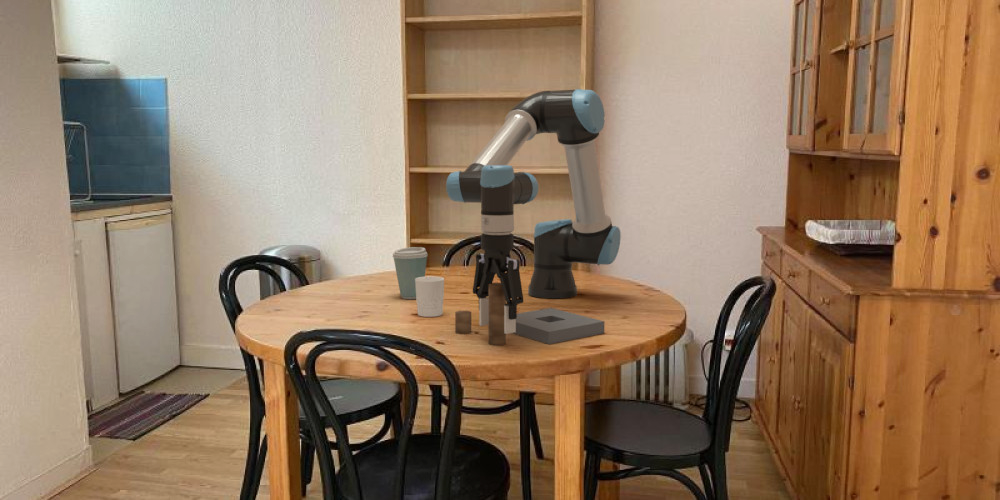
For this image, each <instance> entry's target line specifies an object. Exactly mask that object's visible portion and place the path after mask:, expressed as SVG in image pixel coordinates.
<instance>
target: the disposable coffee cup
mask: <svg viewBox="0 0 1000 500" xmlns="http://www.w3.org/2000/svg"><path fill="white" fill-rule="evenodd" d="M428 256H429V255H428V252H427V249H426V248H425V247H421V246H419V247H418V246H416V247H415V246H412V247H404V248H400V249H396V250H394V252H393V253H392V258H393V261H394V266H395V271H396V277H397V278H396V279H397V283H398V288H399V294H400V296H401V299H403V300H417V299H416V285H415V279H416V278H418V277H425V276H426V269H427V259H428Z"/></svg>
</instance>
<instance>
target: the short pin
mask: <svg viewBox="0 0 1000 500" xmlns="http://www.w3.org/2000/svg"><path fill="white" fill-rule="evenodd" d="M454 313H455V314H454V315H455V317H454V318H455V319H454V322H455V324H454V325H455V326H454V327H455V328H454V331H455V333H456V334H459V335H469V334H471V333H472V311H470V310H457V311H455V312H454Z"/></svg>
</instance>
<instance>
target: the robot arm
mask: <svg viewBox="0 0 1000 500" xmlns="http://www.w3.org/2000/svg"><path fill="white" fill-rule="evenodd" d="M605 115H606V114H605V108H604V105H603V102H602V99H601V97H600V96H599V94H598V93H597V92H595V91H594V90H592V89H582V88H577V89H560V90H542V91H538V92H535V93H532V94H531V95H529V96H527V97H525V98H524V99H522V100H520V101H519V102H518V103H517V104H516V105H514V107H512V109H510V111H509V112H508V113H507V114H506V115H505V118H504V123H503V125H502V126H501V127H500V128H499V129H498V131H497V132H496V133H495V134H494V136H492V138H491V139H490V140H489V141H488V142H487V144H486V145H484V147H483V149H482V150H481V151H480V152H479V153H478V154H477V156H476V157H475V158H474V159H473V160H472V162H471V163H470V164H469V165H468V167H466V169H465V170H464V171H461V170H459V171H453V172H450V174H449V175H448V176H447V179H446V184H445V186H446V187H445V189H446V193H447V196H448V198H449V199H450V200H451V201H453V202H459V203H460V202H461V203H463V204H466V203H476V204H479V203H480V214H481V215H480V221H481V222H480V230H481V232H482V233H481V234H480V248H481V250H482V251H484V253H477V254H476V255H475V261H476V262H475V263H476V265H475V271H474V276H473V277H474V279H473V285H472V293H473V294H474V295H476V297H477V298H478V310H479V313H478V314H479V317H478V319H479V320H478V321H479V323H478V325H479V327H483V326H484V327H485V326H489V284H490V283H494V282H493V281H494V278H495V276H496V277H497V278H498V279H499V283H501V285H502V289H503V292H504V296H505V299H506V304H504V333H505V334H506V335H508V334H514V332H516V318H517V311H518V309H517V308H518V307H517V306H518V305H520V304H523V303H524V296H523V295H524V294H523V289H522V281H521V280H522V279H521V273H520V265H521V264H520V263H521V261H520V259H517V258H516V259H513V258H512V257H511V251H513V249H514V248H515V247H514V234H513V232H514V231H515V230H514V229H515V226H514V225H515V217H514V216H515V215H514V206H515V205H525V204H527V203H530V202H532V201H533V200H535V198H536V197H537V196H538V193H539V183H538V180H537V179H536V177H535V176H534V175H533V174H531V173H530V172H526V171H525V172H524V171H518V172H515V170H514V168H513V166H512V165H509V163H510V162H511V161H512V160H513V158H514V157H515V156H516V154H517V153H518V152H519V150H520V149H521V148H522V147H523V146H524V145H525V143H526V142H528V141H530V140H532V139H533V138H534V137H536V135H540V134H556V137H557V143H559V144H560V145H561V146H563V147H564V152H565V158H566V159H565V160H566V164H567V171H568V176H569V183H570V187H571V195H572V200H573V207H574V213H575V219H574V221H573V220H572V219H569V218H568V219H567V218H565V219H557V220H556V219H555V220H547V221H541V222H537V223H536V224H535V226H534V232H533V234H534V235H533V271H532V275H531V278H530V282H529V285H528V289H527V291H528V293H527V294H528V295H529V296H531V297H535V298H541V299H567V298H568V299H569V298H573V297H576V296H577V295H578V287H577V284H576V280H575V277H574V273H573V270H572V263H575V264H576V263H578V264H591V265H597V266H600V265H603V266H604V265H605V266H606V265H608V266H609V265H610V264H613V263H614V262H615V260H616V259H617V256H618V253H619V251H620V250H619V249H620V245H621V237H622V235H621V229H620V228H619V226H616V225H613V224H612V223H613V222H612V219H611V217H610V216H609V215H608V214H606V211H605V205H604V204H605V203H604V198H603V197H604V196H603V190H602V183H601V177H600V169H599V163H598V154H597V149H596V143H595V142H596V140H597V139H598V138H599V136H600V132H602V131H603V129H604V126H605Z"/></svg>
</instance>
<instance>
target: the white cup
mask: <svg viewBox="0 0 1000 500" xmlns="http://www.w3.org/2000/svg"><path fill="white" fill-rule="evenodd" d="M415 285H416V299H415V300H416V306H417V315H418V317H423V318H424V317H425V318H434V317H435V318H436V317H440V316H442V315H443V313H444V312H443V311H444V310H443V308H444V297H445V292H444V291H445V278H444V277H442V276H436V275H435V276H433V275H432V276H430V275H427V276H426V275H425V277H418V278H416V279H415Z"/></svg>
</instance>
